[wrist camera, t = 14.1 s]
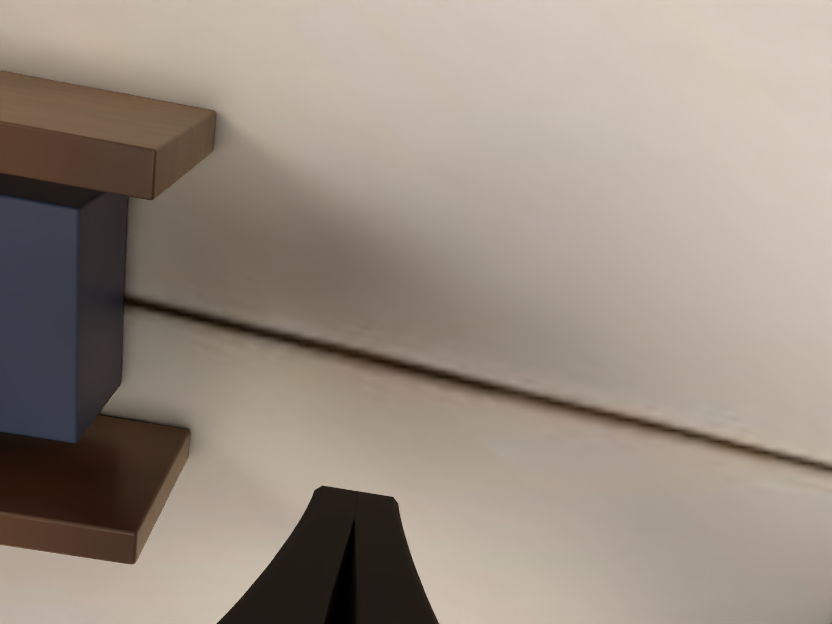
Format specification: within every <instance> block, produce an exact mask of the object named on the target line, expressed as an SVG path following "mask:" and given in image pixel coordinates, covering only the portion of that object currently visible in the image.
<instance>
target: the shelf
mask: <svg viewBox="0 0 832 624" xmlns="http://www.w3.org/2000/svg"><path fill="white" fill-rule="evenodd" d="M215 118H216V112H215V111H213V110H207V109H202V108H197V107H191V106H186V105H181V104H175V103H170V102H165V101H159V100H154V99H149V98H143V97H138V96H133V95H127V94H122V93H117V92H111V91H106V90H101V89H96V88H90V87H85V86H80V85H74V84H69V83H64V82H58V81H53V80H48V79H42V78H37V77H32V76H26V75H21V74H16V73H10V72H5V71H0V173H2V174H8V175H14V176H19V177H25V178H30V179H36V180H41V181H47V182H52V183H58V184H64V185H69V186H75V187H80V188H86V189H91V190H97V191H103V192H108V193H114V194H119V195H125V196H130V197H136V198H142V199H147V200H154V199H155V198H156V197H158V196H159V195H160V194H161V193H163V192H164V191H165V190H166V189H167V188H169V187H170V186H171V185H172V184H173V183H175V182H176V181H177V180H178V179H180V178H181V177H182V176H183V175H184V174H186V173H187V172H188V171H189V170H191V169H192V168H193V167H194V166H195V165H197V164H198V163H199V162H200V161H201V160H203V159H204V158H205V157H206V156H208V155H209V154H210V153H211V152H212V151H213V143H214V131H215ZM189 440H190V431H189V430H187V429H181V428H175V427H169V426H163V425H156V424H150V423H144V422H138V421H132V420H126V419H119V418H113V417H107V416H101V415H97V416H96V418H95V419H94V420H93V422H92V423H91V424H90V426H89V427H88V428H87V430H86V431H85V433H84V434H83V435H82V437H81V438H80V439H79V441H78V442H77V443H67V442H61V441H55V440H49V439H42V438H36V437H30V436H24V435H18V434H11V433H5V432H0V545H6V546H12V547H19V548H26V549H32V550H39V551H46V552H52V553H59V554H66V555H72V556H79V557H85V558H92V559H99V560H105V561H112V562H119V563H125V564H135V563H136V561H137V559H138V557H139V555H140V553H141V551H142V549H143V547H144V545H145V543H146V541H147V539H148V537H149V535H150V533H151V531H152V529H153V527H154V525H155V523H156V521H157V519H158V517H159V515H160V513H161V511H162V509H163V507H164V505H165V503H166V501H167V499H168V497H169V495H170V493H171V491H172V489H173V487H174V485H175V482H176V480H177V478H178V476H179V474H180V472H181V470H182V468H183V466H184V464H185V462H186V460H187V458H188V453H189Z"/></svg>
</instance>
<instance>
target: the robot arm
mask: <svg viewBox="0 0 832 624" xmlns="http://www.w3.org/2000/svg"><path fill="white" fill-rule="evenodd" d="M217 624H439V623H438V620H437V618H436V616H435V614H434V612H433V610H432V608H431V605H430V603H429V601H428V598H427V596H426V594H425V591H424V588H423V586H422V583H421V581H420V578H419V576H418V573H417V570H416V568H415V565H414V562H413V559H412V556H411V554H410V550H409V547H408V544H407V541H406V537H405V534H404V530H403V526H402V522H401V518H400V513H399V506H398V503H397V501H396V500H395V499H394V497H390V496H384V495H377V494H371V493H365V492H359V491H352V490H346V489H340V488H333V487H327V486H321V487H319V488H318V489H316V490H315V491H314V494H313V496H312V499H311V501H310V503H309V505H308V507H307V509H306V511H305V512H304V514H303V516H302V518H301V519H300V521H299V522H298V524H297V526H296V527H295V529H294V530H293V532H292V533H291V535H290V536H289V538H288V539H287V541H286V542H285V543H284V545H283V546H282V548H281V549H280V550H279V552H278V553H277V554H276V556H275V557H274V559H273V560H272V561H271V563H270V564H269V565H268V566H267V568H266V569H265V570H264V571H263V573H262V574H261V575H260V576H259V577H258V579H257V580H256V581H255V582H254V583H253V584H252V586H251V587H250V588H249V589H248V590H247V592H246V593H245V594H244V595H243V596H242V597H241V599H240V600H239V601H238V602H237V603H236V604H235V605H234V606H233V607H232V608H231V609H230V611H229V612H228V613H227V614H226V615H225V616H224V617H223V618H222V619H221V620H220V621H219V622H218V623H217Z"/></svg>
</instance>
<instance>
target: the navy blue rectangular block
mask: <svg viewBox="0 0 832 624" xmlns="http://www.w3.org/2000/svg"><path fill="white" fill-rule="evenodd" d="M126 223H127V196H125V195H119V194H114V193H108V192H103V191H97V190H91V189H86V188H80V187H75V186H69V185H64V184H58V183H52V182H47V181H41V180H36V179H30V178H25V177H19V176H14V175H8V174H2V173H0V432H5V433H11V434H18V435H24V436H30V437H36V438H42V439H49V440H55V441H61V442H67V443H77V442H78V441H79V439H80V438H81V437H82V435H83V434H84V433H85V431H86V430H87V428H88V427H89V426H90V424H91V423H92V422H93V420H94V419H95V418H96V416H97V415H98V414H99V412H100V411H101V410H102V408H103V407H104V406H105V404H106V403H107V402H108V400H109V399H110V398H111V396H112V395H113V394H114V392H115V391H116V390H117V388H118V387H119V386H120V384H121V357H122V330H123V303H124V276H125V250H126Z"/></svg>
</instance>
